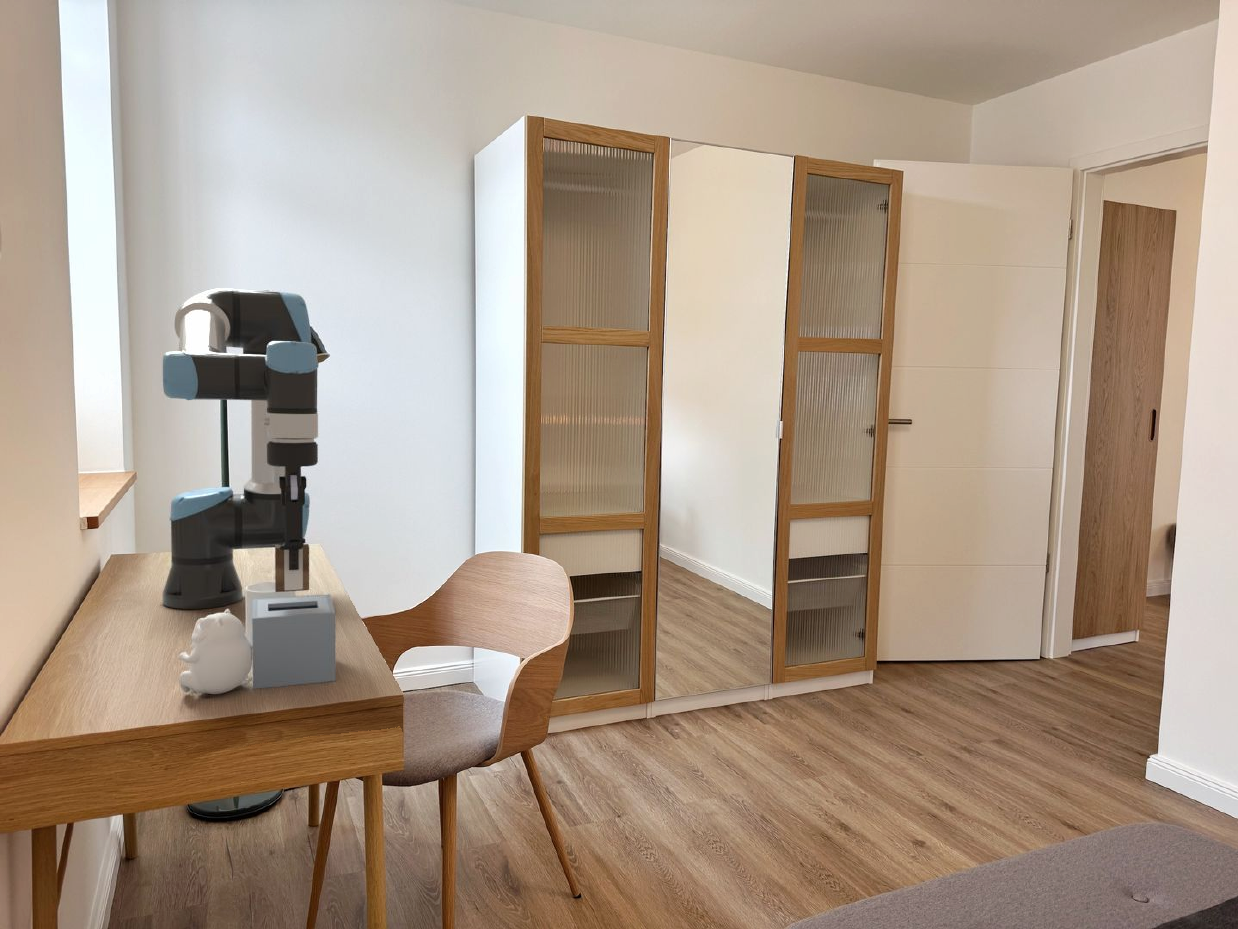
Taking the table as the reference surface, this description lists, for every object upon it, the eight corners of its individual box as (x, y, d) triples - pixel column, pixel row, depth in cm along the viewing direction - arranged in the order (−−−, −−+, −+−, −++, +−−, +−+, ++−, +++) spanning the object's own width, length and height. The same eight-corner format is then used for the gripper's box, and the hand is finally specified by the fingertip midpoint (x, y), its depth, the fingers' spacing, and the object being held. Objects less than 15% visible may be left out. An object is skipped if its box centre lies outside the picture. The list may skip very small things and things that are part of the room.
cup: (243, 650, 151) (242, 593, 150) (251, 630, 162) (250, 577, 161) (294, 647, 153) (293, 591, 152) (298, 628, 165) (297, 575, 164)
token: (275, 588, 139) (275, 545, 139) (308, 586, 141) (308, 544, 141) (275, 592, 137) (275, 548, 136) (309, 590, 139) (309, 546, 138)
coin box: (253, 664, 144) (252, 599, 143) (329, 657, 148) (329, 594, 147) (253, 689, 133) (252, 618, 132) (335, 681, 137) (335, 612, 136)
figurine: (265, 680, 137) (264, 605, 136) (240, 703, 127) (239, 623, 126) (200, 679, 137) (199, 604, 135) (171, 701, 127) (169, 621, 126)
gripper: (266, 437, 143) (267, 578, 145) (267, 443, 128) (268, 600, 131) (314, 437, 146) (315, 575, 148) (320, 443, 131) (321, 596, 133)
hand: (293, 586), depth 139 cm, fingers closed on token, 2 cm apart
